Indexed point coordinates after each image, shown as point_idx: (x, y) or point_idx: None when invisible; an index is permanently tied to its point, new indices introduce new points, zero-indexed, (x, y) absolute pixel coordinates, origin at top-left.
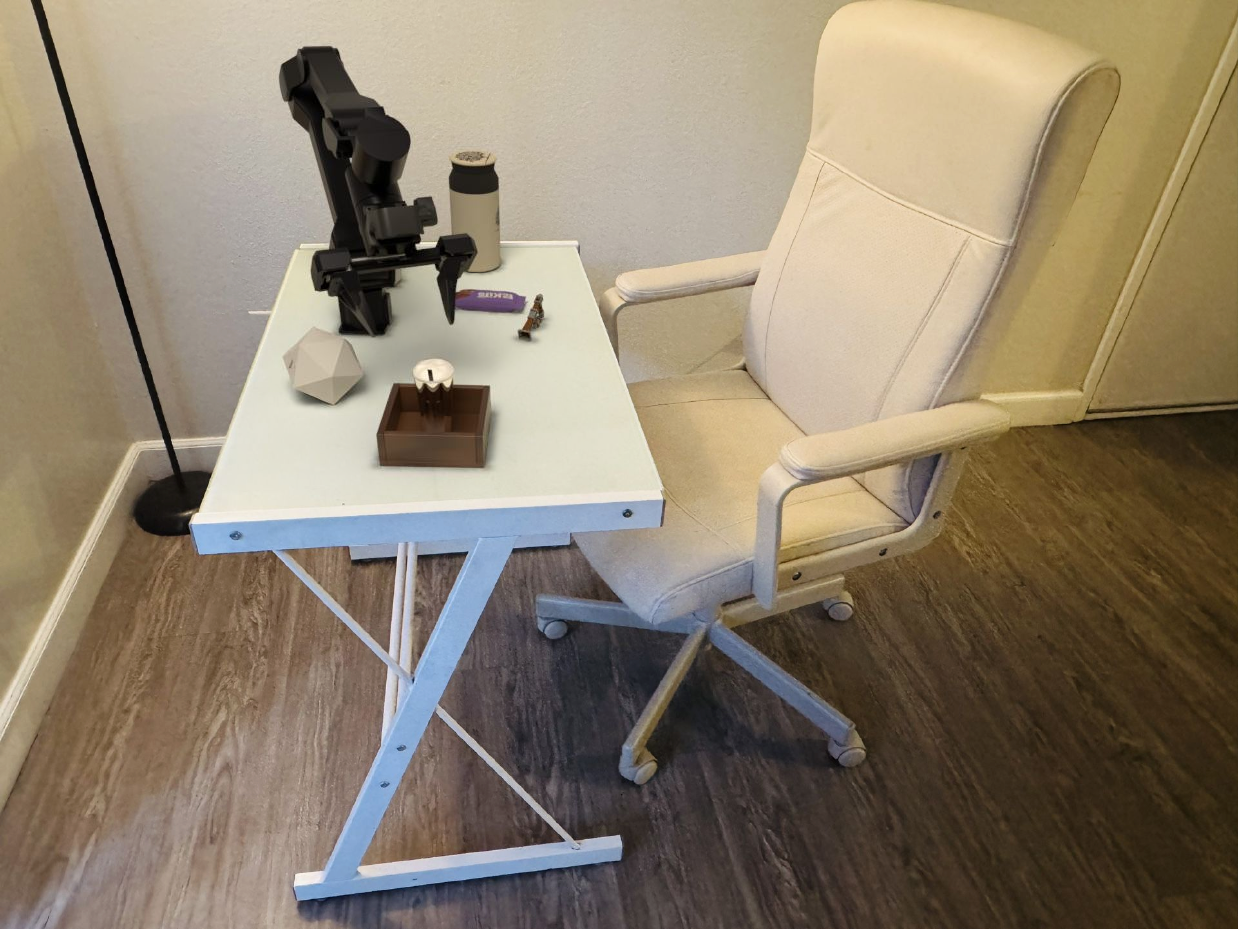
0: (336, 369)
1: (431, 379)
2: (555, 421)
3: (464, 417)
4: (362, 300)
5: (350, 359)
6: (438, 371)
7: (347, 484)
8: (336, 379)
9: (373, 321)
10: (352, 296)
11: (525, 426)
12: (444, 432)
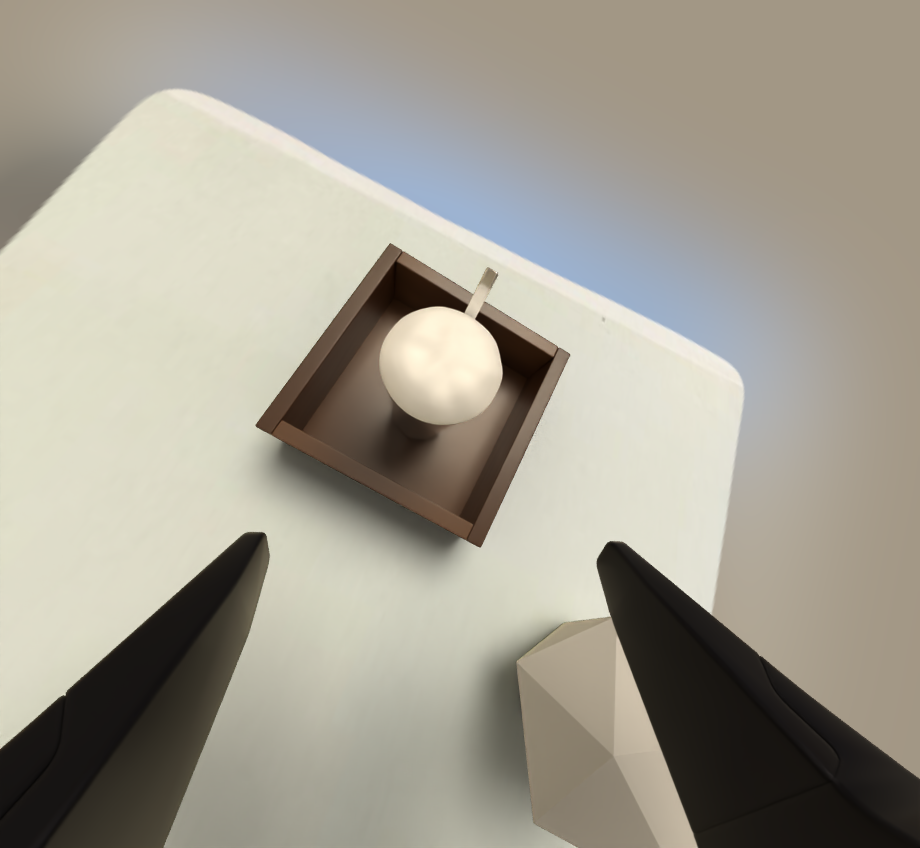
0: (609, 639)
1: (471, 311)
2: (161, 350)
3: (347, 438)
4: (769, 696)
5: (569, 687)
6: (445, 315)
7: (590, 358)
8: (598, 621)
9: (645, 580)
10: (853, 729)
11: (238, 365)
12: (453, 292)
